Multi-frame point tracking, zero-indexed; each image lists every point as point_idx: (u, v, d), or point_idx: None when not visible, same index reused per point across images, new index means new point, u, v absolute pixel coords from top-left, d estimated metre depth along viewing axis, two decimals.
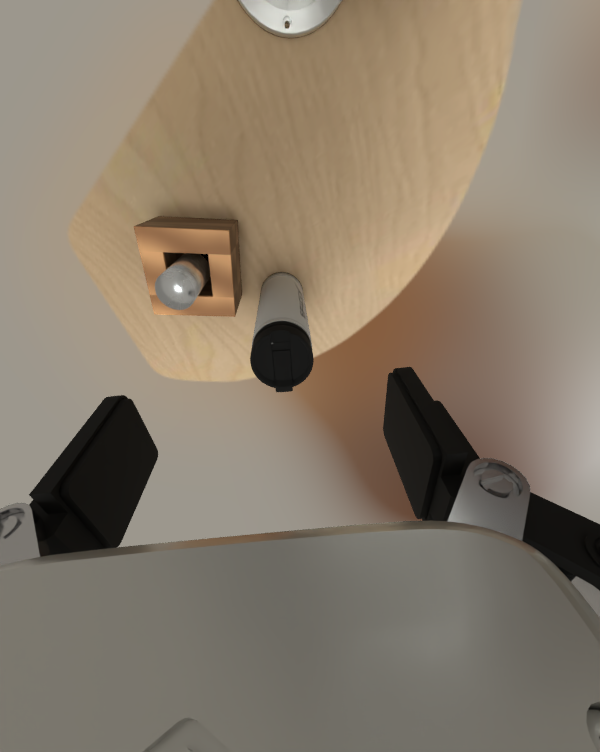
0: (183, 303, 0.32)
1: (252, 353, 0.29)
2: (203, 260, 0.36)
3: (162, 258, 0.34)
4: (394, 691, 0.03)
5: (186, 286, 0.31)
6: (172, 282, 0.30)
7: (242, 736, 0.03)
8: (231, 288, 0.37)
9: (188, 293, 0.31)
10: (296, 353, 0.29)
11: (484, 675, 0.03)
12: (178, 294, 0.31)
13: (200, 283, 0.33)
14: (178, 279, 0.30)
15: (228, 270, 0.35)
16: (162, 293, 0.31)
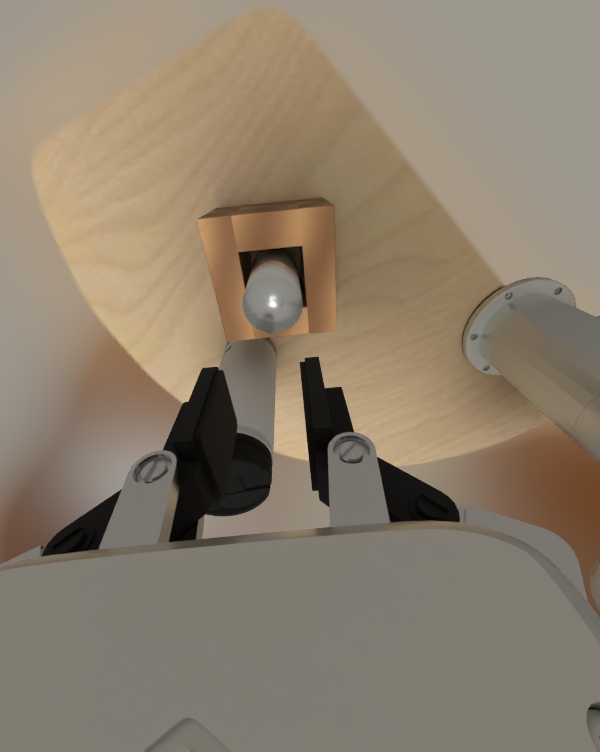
0: (255, 316, 0.21)
1: None
2: None
3: (293, 243, 0.23)
4: (394, 691, 0.03)
5: (283, 321, 0.21)
6: (286, 302, 0.20)
7: (242, 737, 0.03)
8: (266, 336, 0.27)
9: (272, 324, 0.21)
10: (242, 496, 0.23)
11: (484, 675, 0.03)
12: (268, 310, 0.20)
13: None
14: (292, 311, 0.20)
15: (289, 331, 0.27)
16: (265, 286, 0.19)
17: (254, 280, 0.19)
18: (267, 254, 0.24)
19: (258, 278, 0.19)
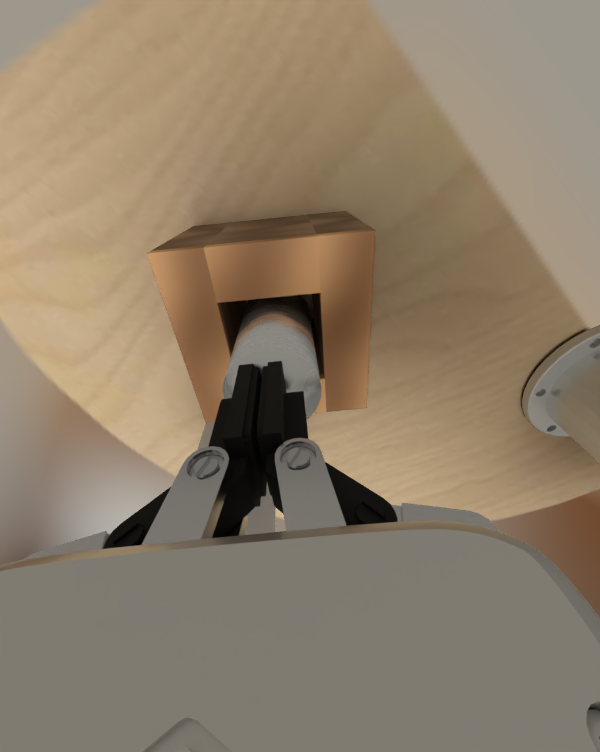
0: None
1: None
2: None
3: (306, 290, 0.14)
4: (394, 691, 0.03)
5: None
6: (294, 389, 0.12)
7: (242, 737, 0.03)
8: None
9: None
10: None
11: (484, 675, 0.03)
12: None
13: None
14: None
15: None
16: (261, 366, 0.12)
17: (241, 356, 0.12)
18: None
19: (248, 354, 0.11)
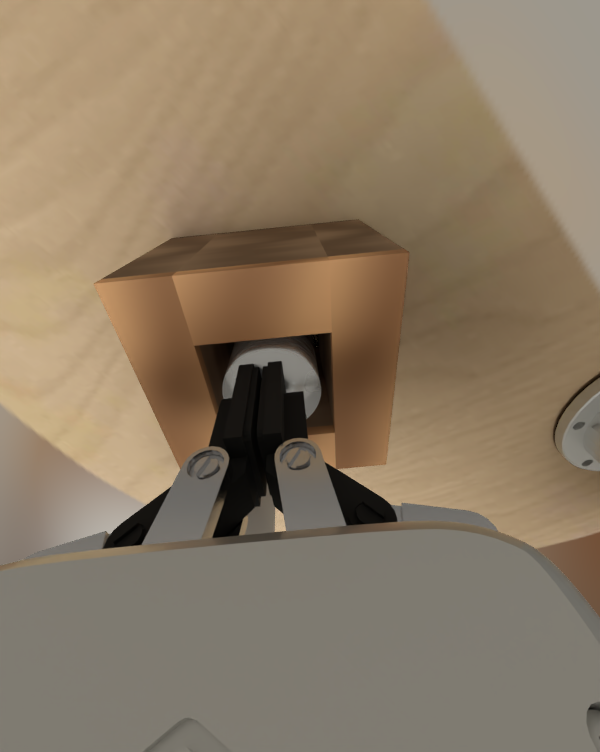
0: None
1: None
2: None
3: (312, 329, 0.11)
4: (394, 691, 0.03)
5: None
6: (294, 389, 0.12)
7: (242, 737, 0.03)
8: None
9: None
10: None
11: (484, 675, 0.03)
12: None
13: None
14: None
15: None
16: (260, 366, 0.12)
17: (241, 356, 0.12)
18: None
19: (248, 354, 0.11)
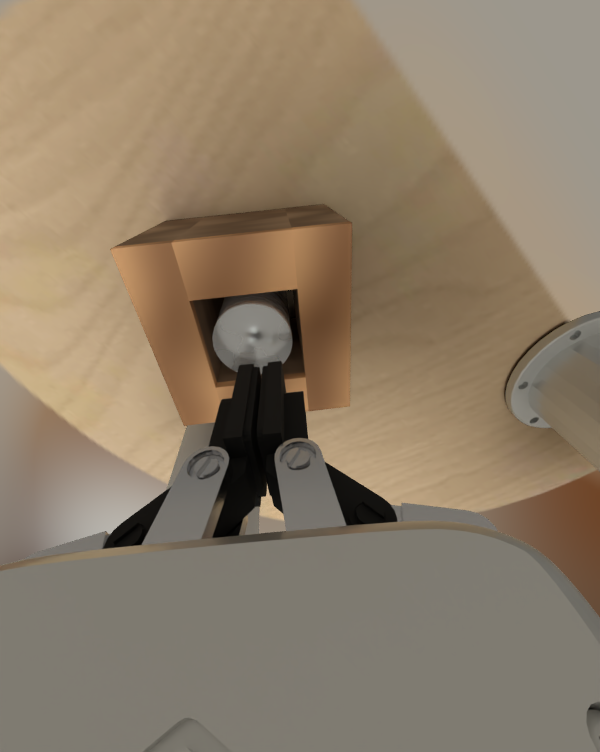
0: (230, 355, 0.16)
1: None
2: None
3: (282, 286, 0.14)
4: (394, 691, 0.03)
5: (267, 361, 0.16)
6: (270, 338, 0.15)
7: (242, 737, 0.03)
8: None
9: (254, 364, 0.16)
10: None
11: (484, 675, 0.03)
12: (248, 347, 0.15)
13: None
14: (278, 348, 0.16)
15: None
16: (242, 318, 0.15)
17: (227, 310, 0.14)
18: None
19: (232, 308, 0.14)
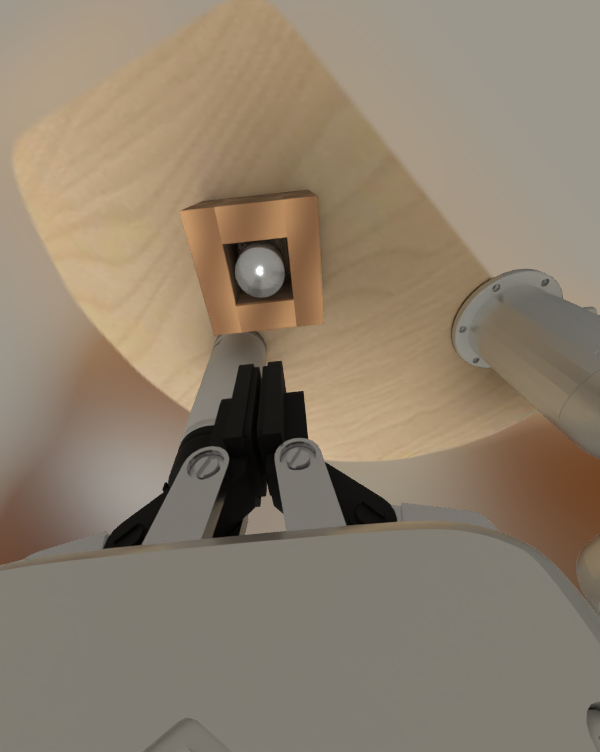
0: (246, 282, 0.25)
1: None
2: None
3: (277, 235, 0.23)
4: (394, 691, 0.03)
5: (269, 287, 0.25)
6: (271, 270, 0.25)
7: (242, 737, 0.03)
8: (253, 329, 0.27)
9: (260, 289, 0.25)
10: None
11: (484, 675, 0.03)
12: (257, 277, 0.25)
13: None
14: (276, 278, 0.25)
15: (276, 324, 0.27)
16: (254, 256, 0.24)
17: (244, 251, 0.24)
18: None
19: (247, 250, 0.24)
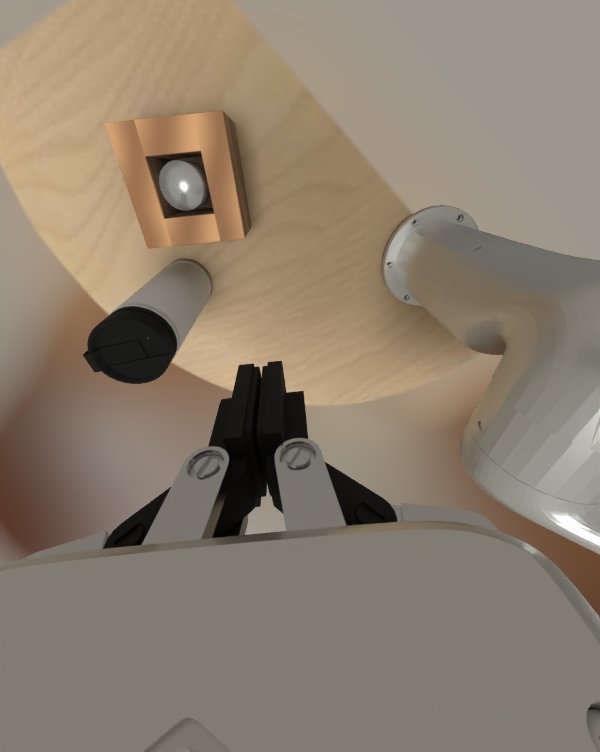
0: (170, 195, 0.29)
1: (125, 320, 0.24)
2: None
3: (192, 148, 0.27)
4: (394, 691, 0.03)
5: (191, 200, 0.29)
6: (190, 184, 0.28)
7: (242, 736, 0.03)
8: (182, 243, 0.31)
9: (183, 202, 0.29)
10: (146, 364, 0.26)
11: (484, 675, 0.03)
12: (179, 190, 0.29)
13: None
14: (196, 191, 0.29)
15: (202, 239, 0.31)
16: (174, 169, 0.28)
17: (165, 164, 0.28)
18: None
19: (168, 163, 0.27)
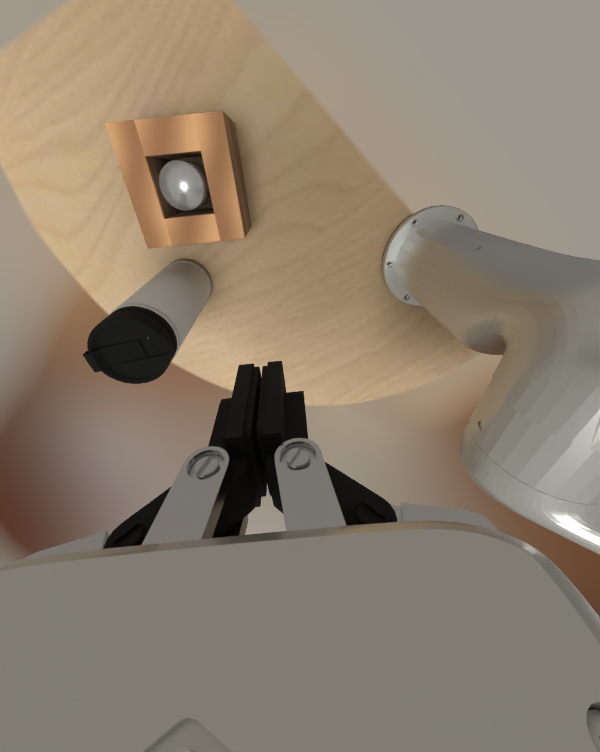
0: (170, 195, 0.29)
1: (125, 320, 0.24)
2: None
3: (192, 148, 0.27)
4: (394, 691, 0.03)
5: (191, 200, 0.29)
6: (190, 183, 0.28)
7: (242, 737, 0.03)
8: (182, 243, 0.31)
9: (183, 202, 0.29)
10: (146, 364, 0.26)
11: (484, 675, 0.03)
12: (179, 190, 0.29)
13: None
14: (196, 191, 0.29)
15: (202, 239, 0.31)
16: (174, 169, 0.28)
17: (165, 164, 0.28)
18: None
19: (168, 163, 0.27)
